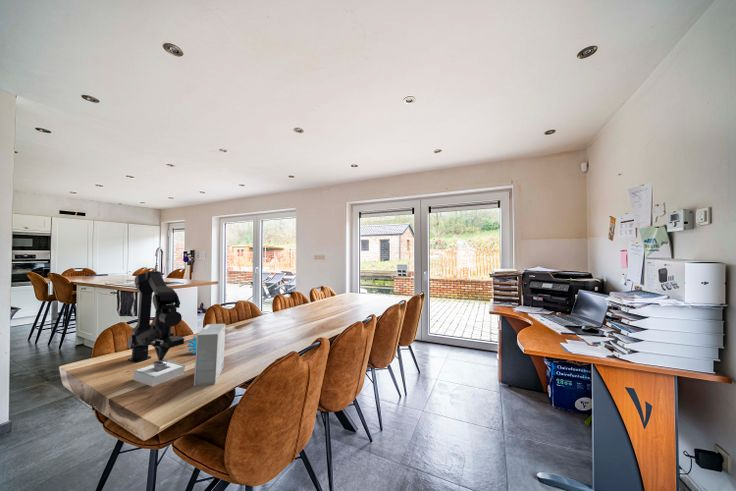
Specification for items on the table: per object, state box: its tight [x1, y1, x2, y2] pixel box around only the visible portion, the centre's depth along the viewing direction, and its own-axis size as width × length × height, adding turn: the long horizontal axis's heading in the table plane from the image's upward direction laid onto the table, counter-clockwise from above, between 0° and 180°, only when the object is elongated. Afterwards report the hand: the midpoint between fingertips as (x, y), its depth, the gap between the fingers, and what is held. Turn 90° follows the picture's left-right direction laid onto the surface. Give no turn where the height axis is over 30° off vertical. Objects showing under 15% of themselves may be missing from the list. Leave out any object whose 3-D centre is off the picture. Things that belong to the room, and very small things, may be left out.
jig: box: [132, 360, 186, 387], centre depth 109 cm, size 12×12×4 cm
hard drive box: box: [193, 323, 226, 387], centre depth 111 cm, size 16×8×20 cm, turn 18°
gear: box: [187, 336, 197, 355], centre depth 138 cm, size 11×6×10 cm
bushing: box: [152, 359, 169, 372], centre depth 109 cm, size 5×5×6 cm
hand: (160, 360), depth 109 cm, fingers closed
